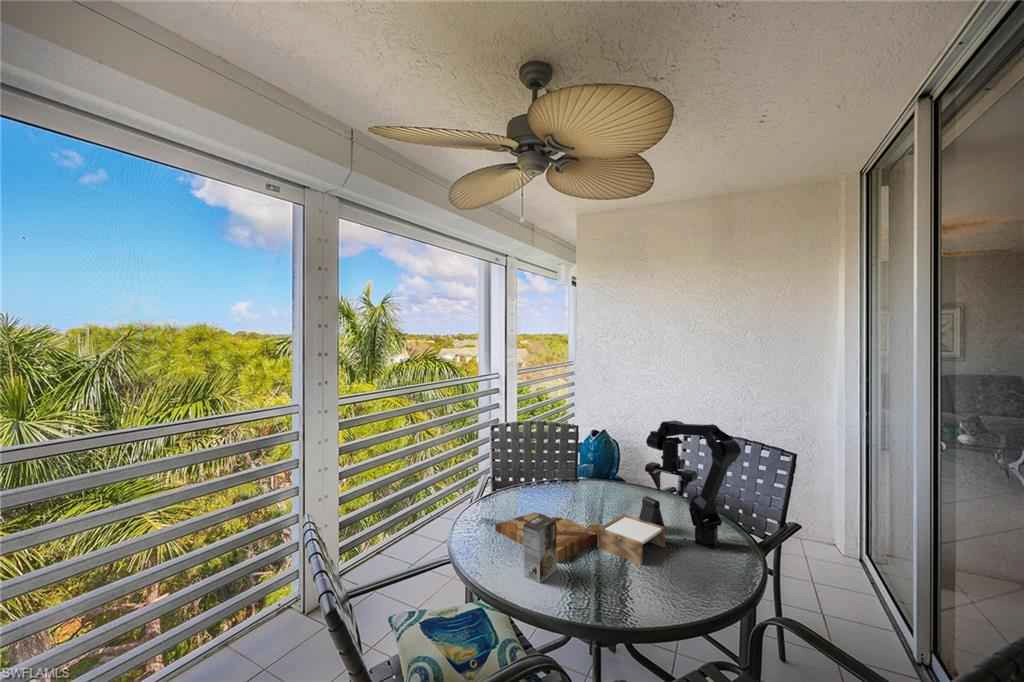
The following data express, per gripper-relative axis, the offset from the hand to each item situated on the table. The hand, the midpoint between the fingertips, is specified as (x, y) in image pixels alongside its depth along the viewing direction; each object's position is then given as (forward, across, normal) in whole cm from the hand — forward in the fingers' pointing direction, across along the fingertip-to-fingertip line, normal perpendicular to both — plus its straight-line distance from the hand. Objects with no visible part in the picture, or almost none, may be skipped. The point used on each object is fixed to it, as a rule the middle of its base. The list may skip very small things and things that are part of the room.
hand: (670, 493), depth 169 cm
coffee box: (+12, +13, +62) cm, 65 cm away
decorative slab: (+13, +28, +42) cm, 52 cm away
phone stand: (+12, +3, +10) cm, 16 cm away
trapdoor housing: (+12, +1, +27) cm, 30 cm away
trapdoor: (+8, +1, +27) cm, 28 cm away
